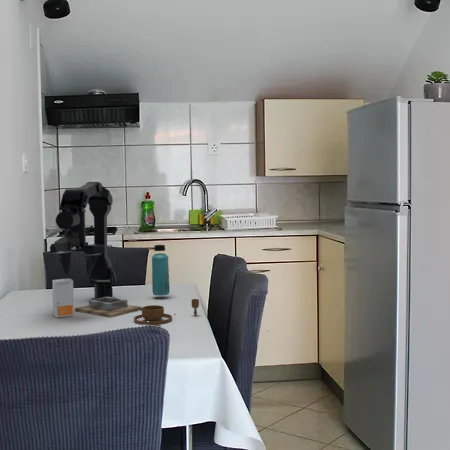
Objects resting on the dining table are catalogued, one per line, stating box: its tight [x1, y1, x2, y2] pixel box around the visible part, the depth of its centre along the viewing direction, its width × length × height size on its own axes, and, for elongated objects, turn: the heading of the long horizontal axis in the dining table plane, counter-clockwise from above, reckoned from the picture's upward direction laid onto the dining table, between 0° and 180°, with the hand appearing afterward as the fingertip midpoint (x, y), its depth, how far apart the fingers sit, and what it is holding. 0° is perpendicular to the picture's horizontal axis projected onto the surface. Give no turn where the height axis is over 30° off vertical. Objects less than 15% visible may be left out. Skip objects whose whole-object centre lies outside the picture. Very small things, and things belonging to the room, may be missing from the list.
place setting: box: [133, 298, 200, 327], centre depth 192 cm, size 18×20×6 cm
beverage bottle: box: [151, 244, 170, 296], centre depth 228 cm, size 6×7×20 cm
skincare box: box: [52, 278, 75, 319], centre depth 200 cm, size 6×4×12 cm
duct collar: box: [74, 296, 143, 318], centre depth 208 cm, size 18×14×4 cm
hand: (77, 274), depth 201 cm, fingers open, 9 cm apart
